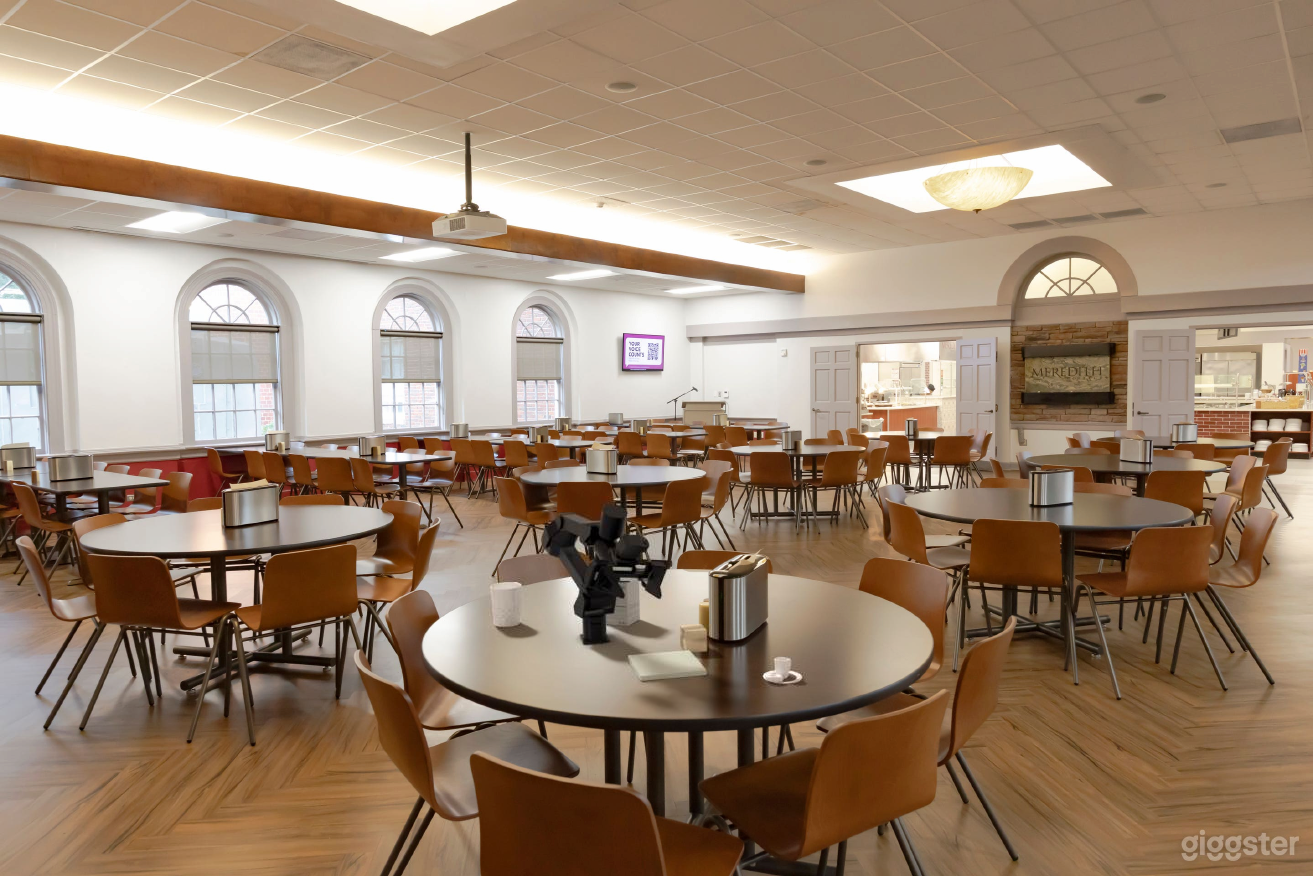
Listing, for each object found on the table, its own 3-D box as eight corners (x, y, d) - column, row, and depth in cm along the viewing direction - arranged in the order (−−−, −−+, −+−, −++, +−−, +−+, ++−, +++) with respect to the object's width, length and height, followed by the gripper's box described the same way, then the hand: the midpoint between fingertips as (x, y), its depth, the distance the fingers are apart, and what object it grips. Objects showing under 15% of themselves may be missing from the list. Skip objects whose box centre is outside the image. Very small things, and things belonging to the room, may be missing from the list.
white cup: (501, 629, 208) (500, 590, 207) (485, 623, 214) (484, 585, 213) (528, 623, 213) (527, 585, 212) (512, 618, 219) (511, 580, 218)
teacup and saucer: (772, 688, 164) (772, 668, 164) (752, 676, 172) (752, 657, 171) (809, 682, 168) (809, 662, 168) (788, 670, 175) (788, 651, 175)
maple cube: (680, 646, 192) (679, 625, 191) (701, 645, 193) (700, 623, 192) (685, 653, 187) (685, 631, 187) (706, 651, 188) (706, 629, 188)
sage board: (628, 659, 182) (628, 655, 182) (689, 654, 185) (689, 650, 185) (640, 680, 169) (640, 676, 169) (706, 674, 172) (706, 670, 172)
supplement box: (615, 616, 218) (614, 569, 218) (640, 619, 215) (639, 571, 215) (602, 623, 212) (601, 575, 211) (627, 626, 209) (626, 577, 208)
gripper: (587, 523, 179) (615, 563, 167) (659, 528, 189) (691, 566, 177) (572, 566, 183) (599, 609, 171) (643, 568, 193) (674, 609, 181)
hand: (642, 597), depth 175 cm, fingers open, 9 cm apart
